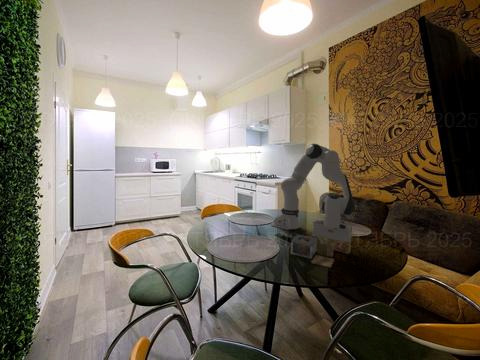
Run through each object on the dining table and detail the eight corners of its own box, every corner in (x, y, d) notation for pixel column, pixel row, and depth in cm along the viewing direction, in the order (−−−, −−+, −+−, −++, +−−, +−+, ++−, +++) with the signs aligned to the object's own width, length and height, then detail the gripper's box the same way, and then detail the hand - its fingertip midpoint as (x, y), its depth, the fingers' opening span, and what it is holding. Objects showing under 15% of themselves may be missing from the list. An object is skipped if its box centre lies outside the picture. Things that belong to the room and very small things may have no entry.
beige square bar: (326, 255, 132) (328, 228, 130) (327, 253, 135) (329, 227, 133) (332, 257, 131) (333, 229, 129) (333, 255, 133) (334, 228, 131)
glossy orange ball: (299, 247, 135) (299, 242, 135) (301, 244, 139) (301, 239, 139) (306, 248, 133) (306, 243, 133) (308, 246, 137) (308, 241, 136)
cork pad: (311, 262, 123) (311, 261, 123) (315, 255, 132) (315, 254, 132) (330, 267, 118) (330, 266, 118) (334, 260, 127) (334, 259, 127)
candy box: (332, 250, 140) (334, 225, 138) (335, 247, 143) (336, 224, 141) (348, 254, 134) (350, 229, 132) (350, 252, 138) (352, 227, 136)
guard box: (290, 253, 134) (291, 240, 133) (296, 246, 145) (297, 234, 144) (311, 258, 128) (312, 245, 127) (316, 250, 138) (317, 238, 137)
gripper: (311, 221, 133) (310, 244, 135) (351, 227, 123) (349, 252, 124) (314, 218, 138) (313, 240, 140) (352, 224, 128) (350, 247, 130)
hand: (330, 246), depth 132 cm, fingers open, 8 cm apart
